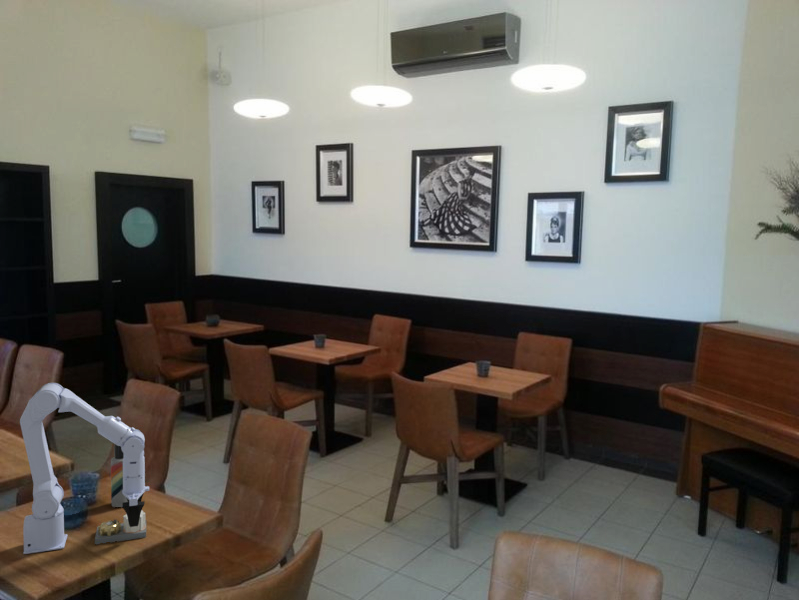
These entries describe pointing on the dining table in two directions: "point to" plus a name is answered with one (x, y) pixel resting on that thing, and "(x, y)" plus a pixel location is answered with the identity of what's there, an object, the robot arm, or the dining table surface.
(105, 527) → the gear
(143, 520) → the loose gear
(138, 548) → the dining table surface
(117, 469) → the lotion bottle
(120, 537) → the board
